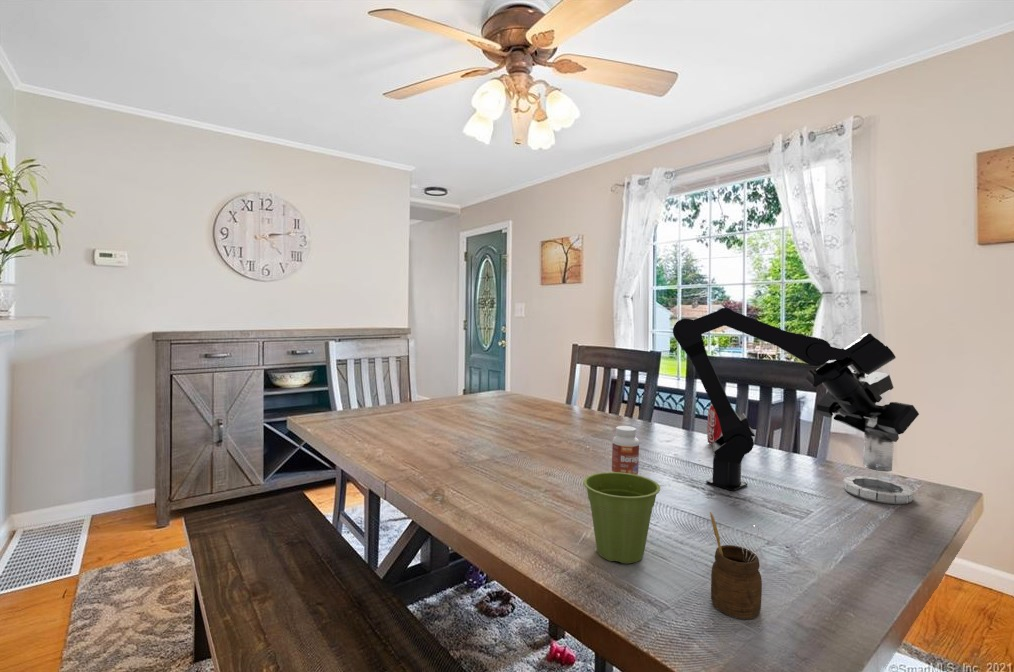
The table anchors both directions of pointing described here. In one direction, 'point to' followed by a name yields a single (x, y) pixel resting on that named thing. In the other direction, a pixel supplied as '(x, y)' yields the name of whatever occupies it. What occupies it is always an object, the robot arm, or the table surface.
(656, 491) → the plant pot
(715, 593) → the utensil holder
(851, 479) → the grey white ring
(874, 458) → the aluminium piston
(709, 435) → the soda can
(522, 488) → the table surface
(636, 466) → the pill bottle
